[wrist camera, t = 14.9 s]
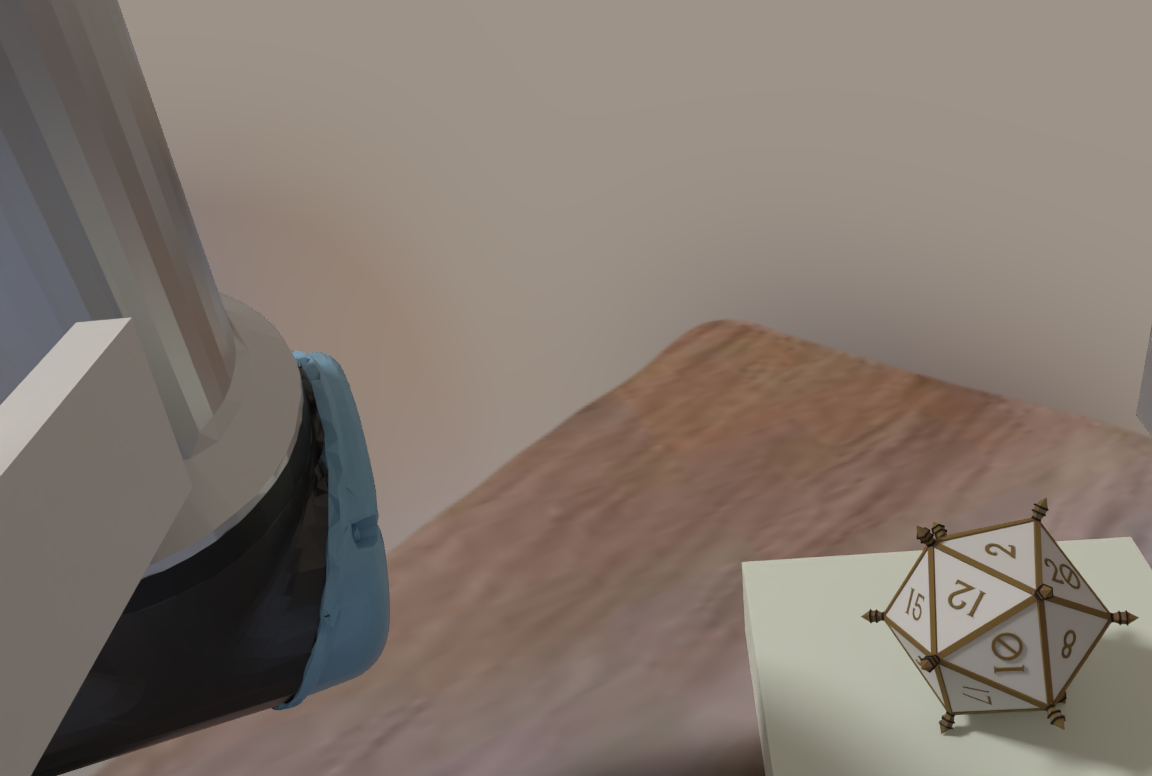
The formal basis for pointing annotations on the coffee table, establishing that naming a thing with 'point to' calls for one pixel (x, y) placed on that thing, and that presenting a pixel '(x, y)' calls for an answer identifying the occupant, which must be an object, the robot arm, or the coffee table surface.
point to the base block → (905, 700)
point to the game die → (997, 619)
